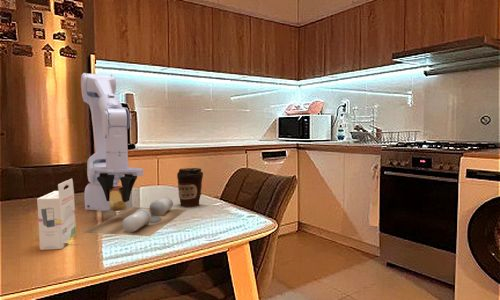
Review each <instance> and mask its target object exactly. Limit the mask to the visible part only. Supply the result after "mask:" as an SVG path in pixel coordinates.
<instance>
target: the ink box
mask: <svg viewBox="0 0 500 300" xmlns="http://www.w3.org/2000/svg"><path fill="white" fill-rule="evenodd" d="M66 186H68V187H67V188H65V187H66ZM36 201H37V202H36V205H37V216H38V217H37V219H38V234H39V235H38V236H39V237H38V238H39V250H41V251H45V250H50V251H51V250H62V249H64V248H65V247H66V246H68V245H69V243H67V241H69V240H70V239H71V238H72V237H74V236H75V235H76V234H77V228H76V227H77V226H76V208H75V207H76V205H75V190H74V181H73V178H70V179H68V180H67V179H66V180H65V181H62V182H61V183H58V184H57V190H53V191H52V192H49V193H47V194H44V195H43V196H42V195H41V196H40V197H38V198H37V199H36Z"/></svg>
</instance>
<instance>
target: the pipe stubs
mask: <svg viewBox="0 0 500 300" xmlns="http://www.w3.org/2000/svg"><path fill="white" fill-rule="evenodd" d="M173 206H174V202H173V200H172V199H171V198H170V197H168V196H167V197H165V196H164V197H163V198H161V199H157V200H154V201H152V202H151V203H150V205H149V207H148V208H149V210H150V212H149V211H148V210H147V209H144V208H145V207H140V208H141V209H138V210H137V211H135V213H134V214H132V215H130V216H128V217H126V218H125V219H124V220H123V223H122V225H123V228H124V230H125V231H127V232H129V233H132V232H134V231H136V230H138V229H139V228H141V227H142V226H147V225H148V224H149V223H150V222H151V214H152V215H153V216H163V215H164V214H165V212H166V211H168V210H170V209H173ZM150 213H151V214H150Z"/></svg>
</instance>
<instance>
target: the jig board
mask: <svg viewBox="0 0 500 300" xmlns="http://www.w3.org/2000/svg"><path fill="white" fill-rule="evenodd" d="M141 208H142V207H137V206H136V207H133V206H132V207H130V208H129V209H125V210H124V211H123V212H120V213H118V214H116V215H114V216H112V217H110V218H108V219H106V220H104V221H101V222H100V223H97V224H96V225H94V226H92V227H89V228H88V229H86V230H83V231H82V233H89V234H91V233H92V234H107V235H108V234H110V235H127V236H143V237H151V236H153V235H154V234H155V233H157V232H158V231H159V230H161V229H162V228H164V227H165V226H166V225H168V224H169V223H171V222H172V221H174V220H175V219H177V218H178V217H180V216H181V215H182V214H183V213H185V212H187V209H182V208H181V209H180V208H171V209H170V210H168V211H166V212H165V214H164V215H163V216H153V215H152V214H151V213H150V214H151V217H160V218H162V220H161V221H159V222H155V223H149V224H148V225H147V226H142V227H141V228H139V229H138V230H136V231H134V232H132V233H129V232H127V231H125V230H124V228H123V225H122V223H123V220H124V219H125V218H126V217H128V216H130V215H132V214H134V213H135V211H137V210H138V209H141ZM143 208H144V209H147V210H148V211H149V212H150V210H149V207H143Z"/></svg>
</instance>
